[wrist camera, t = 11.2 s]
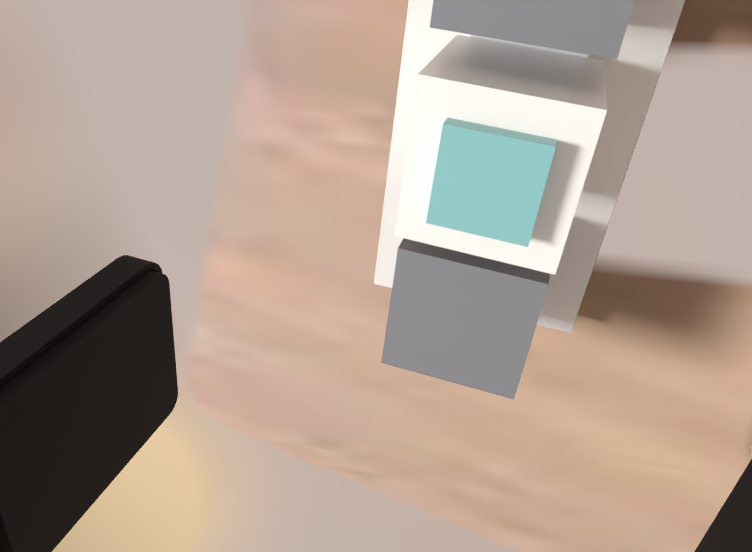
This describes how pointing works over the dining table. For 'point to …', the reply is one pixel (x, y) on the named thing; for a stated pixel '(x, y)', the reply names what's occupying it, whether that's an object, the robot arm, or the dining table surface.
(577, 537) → the dining table surface
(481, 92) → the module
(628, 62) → the rail board
